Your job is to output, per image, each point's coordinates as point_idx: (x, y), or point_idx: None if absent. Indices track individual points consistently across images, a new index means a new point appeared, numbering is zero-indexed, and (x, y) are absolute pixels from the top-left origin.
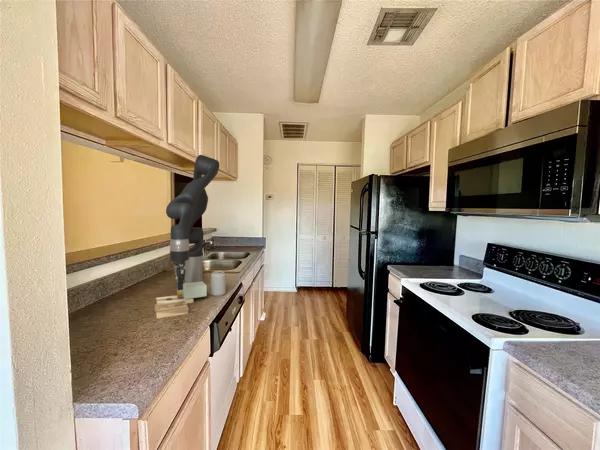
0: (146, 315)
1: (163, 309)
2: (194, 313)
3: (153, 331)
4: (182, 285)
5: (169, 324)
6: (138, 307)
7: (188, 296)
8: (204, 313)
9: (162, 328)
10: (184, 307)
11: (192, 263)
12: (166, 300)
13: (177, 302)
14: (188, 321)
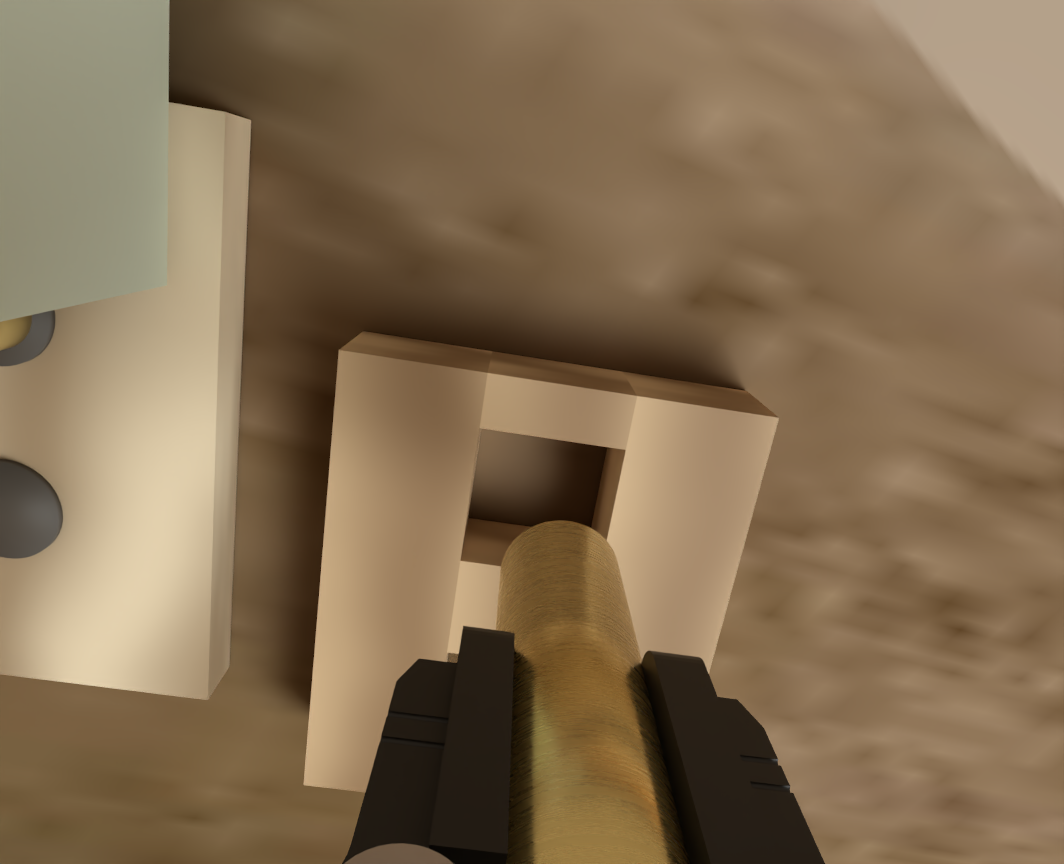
0: None
1: None
2: (808, 311)
3: (993, 853)
4: (731, 757)
5: (939, 693)
6: (91, 843)
7: (142, 203)
8: (927, 170)
9: (990, 774)
10: (723, 469)
11: None
12: (58, 555)
13: (379, 486)
14: (1033, 487)
